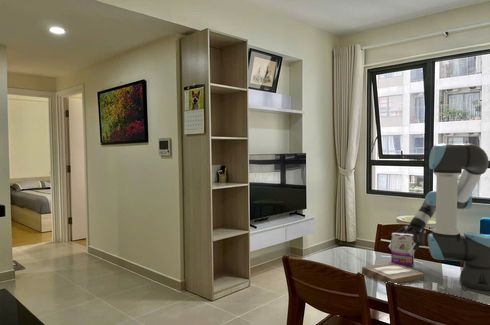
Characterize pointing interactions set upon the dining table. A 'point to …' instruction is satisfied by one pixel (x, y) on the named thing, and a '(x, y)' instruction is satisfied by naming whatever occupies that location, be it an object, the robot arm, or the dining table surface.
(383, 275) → the walnut plinth
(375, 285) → the dining table surface
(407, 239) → the candy bar box
